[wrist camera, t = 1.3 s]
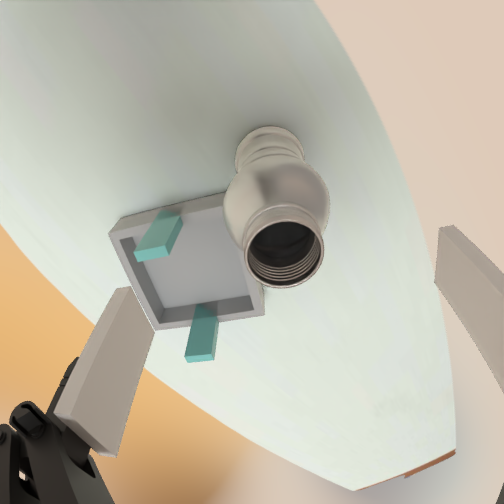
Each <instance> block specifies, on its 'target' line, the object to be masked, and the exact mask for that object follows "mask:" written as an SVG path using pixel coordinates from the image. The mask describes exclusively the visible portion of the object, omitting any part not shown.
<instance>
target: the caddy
mask: <svg viewBox="0 0 504 504" xmlns="http://www.w3.org/2000/svg"><path fill="white" fill-rule="evenodd" d="M225 194H226V192H224V193H219V194H215V195H211V196H206V197H202V198H198V199H193V200H189V201H185V202H181V203H177V204H173V205H169V206H165V207H161V208H157V209H153V210H149V211H145V212H142V213H138V214H134V215H130V216H127V217H123V218H121V219H120V220H119V221H118V222H117V223H116V225H115V226H114V227H113V228H112V229H111V231H110V232H109V233H108V235H109V237H110V239H111V242H112V244H113V246H114V248H115V251H116V253H117V255H118V257H119V259H120V262H121V264H122V266H123V268H124V270H125V272H126V274H127V276H128V279H129V281H130V283H131V285H132V287H133V289H134V291H135V293H136V295H137V297H138V299H139V301H140V303H141V305H142V307H143V308H144V310H145V312H146V314H147V316H148V318H149V320H150V322H151V324H152V326H153V327H154V329H155V330H164V329H172V328H180V327H188V326H191V329H190V334H189V338H188V343H187V347H186V352H185V356H184V357H185V359H186V360H187V362H188V363H190V362H200V361H210V360H214V357H215V349H216V342H217V334H218V326H219V322H224V321H231V320H238V319H244V318H250V317H257V316H263V315H265V310H264V292H263V288H262V285H261V283H259V282H258V281H257V280H255V279H254V278H253V277H252V276H251V274H250V273H249V271H248V269H247V268H246V264H245V261H244V252H243V251H241V250H240V249H239V248H238V247H237V246H236V245H235V243H234V242H233V241H232V239H231V237H230V235H229V234H228V232H227V229H226V227H225V224H224V220H223V211H222V208H223V201H224V197H225Z"/></svg>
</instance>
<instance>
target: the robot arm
mask: <svg viewBox="0 0 504 504" xmlns="http://www.w3.org/2000/svg"><path fill="white" fill-rule="evenodd" d="M434 283H435V284H436V285H437V287H438V288H439V290H440V291H441V292H442V294H443V295H444V297H445V298H446V300H447V301H448V302H449V304H450V305H451V307H452V308H453V310H454V311H455V313H456V314H457V315H458V317H459V319H460V320H461V322H462V323H463V325H464V326H465V328H466V330H467V331H468V333H469V334H470V336H471V338H472V339H473V340H474V342H475V344H476V346H477V347H478V349H479V351H480V352H481V354H482V356H483V357H484V359H485V361H486V362H487V364H488V366H489V368H490V369H491V371H492V373H493V374H494V377H495V378H496V380H497V382H498V384H499V386H500V388H501V389H502V391H503V393H504V274H503V273H502V272H501V271H500V270H499V268H498V267H497V266H496V265H495V264H494V263H493V262H492V261H491V260H490V259H489V258H488V257H487V256H486V255H485V254H484V253H483V252H482V251H481V250H480V249H479V248H478V247H477V246H476V245H475V244H474V243H473V242H471V241H470V240H469V239H468V238H467V237H466V236H465V235H464V234H463V233H462V232H461V231H460V230H459V229H457V228H456V227H455V226H454V225H451V226H446V227H441V228H439V238H438V250H437V261H436V271H435V280H434ZM154 334H155V332H154V330H153V329H152V327H151V325H150V323H149V321H148V319H147V317H146V315H145V313H144V311H143V310H142V308H141V306H140V304H139V302H138V300H137V298H136V296H135V294H134V292H133V290H132V288H131V286H129V287H123V288H117V289H116V290H115V292H114V294H113V295H112V297H111V299H110V301H109V302H108V304H107V306H106V308H105V310H104V311H103V313H102V315H101V317H100V319H99V320H98V322H97V324H96V326H95V328H94V330H93V332H92V334H91V335H90V338H89V339H88V341H87V343H86V345H85V347H84V349H83V351H82V353H81V355H80V357H76V358H75V359H74V361H73V362H72V363H71V364H70V365H69V366H68V368H67V370H66V372H65V374H64V376H63V377H64V379H62V380H61V382H60V387H58V389H57V391H56V393H55V395H54V397H53V400H52V401H51V404H50V406H49V408H48V410H47V412H46V414H44V413H43V412H42V411H41V410H40V409H39V408H38V407H37V406H36V405H35V404H34V403H33V402H31V401H25V402H22V403H20V404H19V405H18V406H17V407H15V409H14V410H13V412H12V413H11V416H10V421H9V423H10V425H11V426H12V427H13V428H15V429H16V430H17V431H16V432H15V431H14V430H13V429H12V428H11V427H10V426H9V425H7V424H1V425H0V504H115V503H114V501H113V499H112V497H111V495H110V493H109V492H108V490H107V487H106V485H105V483H104V481H103V479H102V477H101V475H100V473H99V471H98V469H97V466H96V464H95V462H94V460H93V458H92V457H91V455H89V451H90V448H92V449H93V450H94V451H95V452H97V453H98V454H99V455H103V456H110V457H117V454H118V451H119V447H120V443H121V440H122V436H123V433H124V429H125V426H126V422H127V418H128V415H129V412H130V408H131V405H132V402H133V399H134V395H135V392H136V389H137V385H138V382H139V379H140V376H141V373H142V370H143V367H144V364H145V361H146V358H147V355H148V352H149V349H150V346H151V343H152V340H153V337H154ZM19 471H21V472H22V473H23V474H25V480H23V479H21V478H20V477H19ZM496 504H504V484H503V486H502V489H501V492H500V495H499V497H498V500H497V502H496Z"/></svg>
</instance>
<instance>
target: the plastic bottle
mask: <svg viewBox="0 0 504 504" xmlns="http://www.w3.org/2000/svg"><path fill="white" fill-rule="evenodd" d="M304 160H305V159H304V151H303V148H302V145H301V143H300V142H299V140H298V139H297V137H295V136H294V135H293V134H292V133H291V132H289V131H288V130H286V129H283V128H280V127H275V126H266V127H262V128H258V129H256V130H254V131H252V132H251V133H249V134H248V135H246V137H245V138H244V139H243V140H242V141H241V143H240V144H239V146H238V148H237V151H236V154H235V168H236V172H237V174H236V175H235V177H234V178H233V180H232V181H231V183H230V185H229V187H228V189H227V191H226V194H225V197H224V201H223V208H222V211H223V220H224V224H225V227H226V229H227V232H228V234H229V235H230V237H231V239H232V241H233V242H234V243H235V245H236V246H237V247H238V248H239V249H240V250H241V251H243V252H244V261H245V264H246V268H247V269H248V271H249V273H250V274H251V276H252V277H253V278H254V279H255V280H257V281H258V282H259V283H261V284H263V285H265V286H268V287H272V288H290V287H294V286H297V285H300V284H302V283H304V282H305V281H307V280H308V279H310V278H311V277H312V276H313V275H314V274H315V273H316V272H317V270H318V269H319V267H320V265H321V263H322V260H323V257H324V243H323V239H322V235H323V233H324V231H325V229H326V226H327V222H328V219H329V213H330V198H329V192H328V190H327V187H326V184H325V183H324V181H323V180H322V178H321V176H320V175H319V174H318V173H317V172H316V171H315V170H314V169H313V168H312V167H311V166H310V165H309V164H307V163H305V162H304Z"/></svg>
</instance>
